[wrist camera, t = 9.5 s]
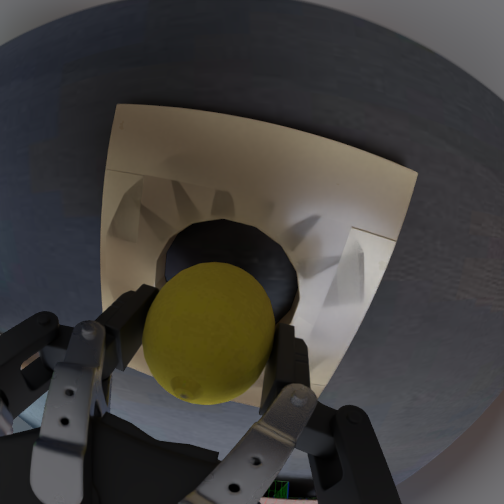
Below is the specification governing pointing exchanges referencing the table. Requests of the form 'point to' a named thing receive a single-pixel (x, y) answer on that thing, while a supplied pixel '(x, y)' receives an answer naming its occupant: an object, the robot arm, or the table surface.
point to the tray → (253, 213)
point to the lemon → (209, 333)
